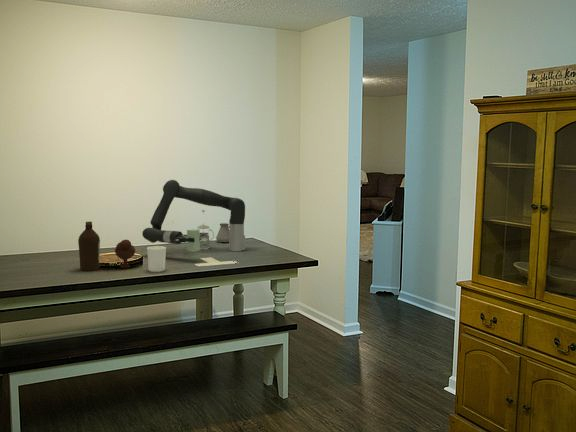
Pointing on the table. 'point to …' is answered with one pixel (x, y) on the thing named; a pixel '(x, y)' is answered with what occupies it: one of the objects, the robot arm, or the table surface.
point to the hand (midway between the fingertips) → (197, 239)
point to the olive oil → (89, 249)
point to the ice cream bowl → (125, 252)
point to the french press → (204, 236)
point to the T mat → (213, 262)
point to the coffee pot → (223, 233)
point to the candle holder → (156, 258)
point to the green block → (195, 245)
